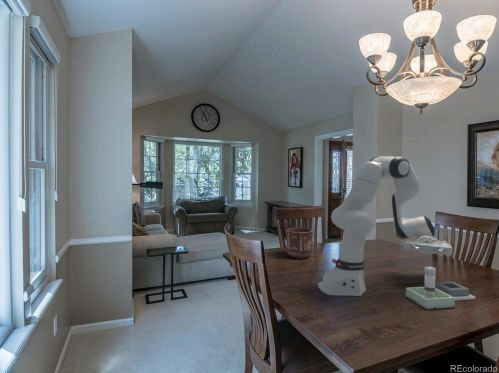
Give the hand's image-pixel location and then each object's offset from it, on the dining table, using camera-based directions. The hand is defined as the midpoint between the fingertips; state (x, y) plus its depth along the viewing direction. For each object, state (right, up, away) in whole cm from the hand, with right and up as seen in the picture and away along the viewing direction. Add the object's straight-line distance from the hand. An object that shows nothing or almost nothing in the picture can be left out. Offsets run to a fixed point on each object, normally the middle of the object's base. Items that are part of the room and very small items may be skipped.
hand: (428, 250), depth 141 cm
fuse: (-5, -19, -9) cm, 22 cm away
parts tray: (-5, -20, -9) cm, 23 cm away
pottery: (-50, -17, +63) cm, 82 cm away
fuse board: (+10, -20, -1) cm, 22 cm away
